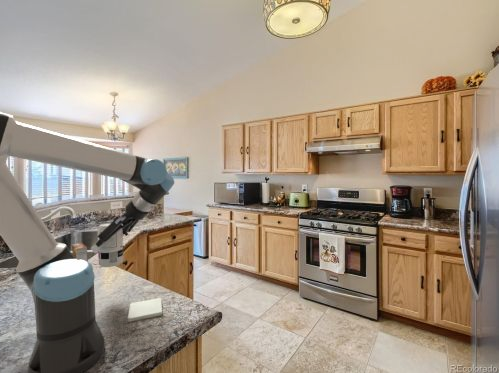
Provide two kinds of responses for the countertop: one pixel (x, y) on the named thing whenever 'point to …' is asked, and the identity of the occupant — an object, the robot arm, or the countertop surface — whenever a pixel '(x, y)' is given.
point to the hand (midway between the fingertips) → (102, 247)
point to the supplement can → (111, 248)
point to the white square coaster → (145, 309)
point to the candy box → (80, 251)
